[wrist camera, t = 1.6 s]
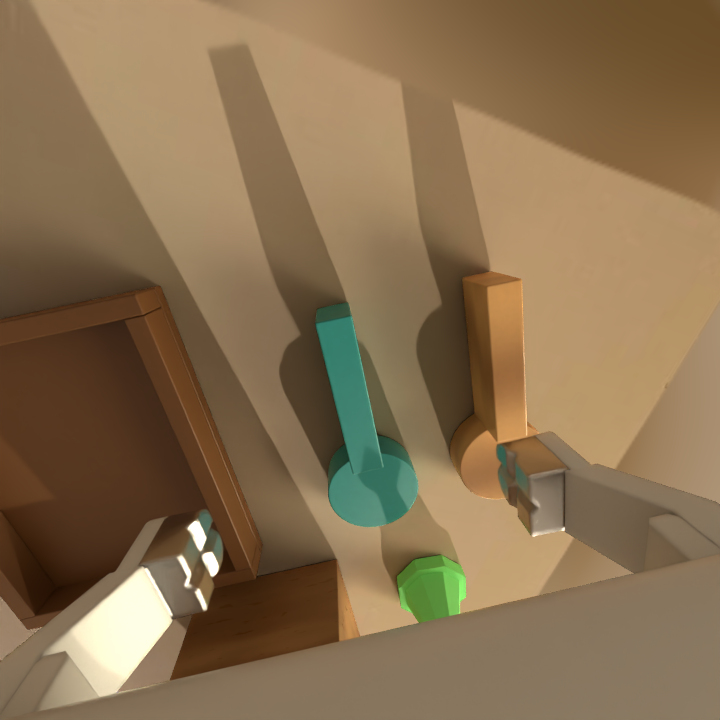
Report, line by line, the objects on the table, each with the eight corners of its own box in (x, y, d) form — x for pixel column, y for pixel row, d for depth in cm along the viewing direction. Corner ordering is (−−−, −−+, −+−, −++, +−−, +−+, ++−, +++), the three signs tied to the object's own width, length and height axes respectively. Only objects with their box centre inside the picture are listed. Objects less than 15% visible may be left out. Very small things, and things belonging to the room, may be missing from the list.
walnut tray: (-119, 344, 15) (-188, 362, 13) (160, 285, 15) (135, 293, 13) (57, 590, 20) (27, 630, 18) (263, 544, 20) (256, 579, 18)
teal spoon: (283, 315, 16) (274, 331, 13) (381, 294, 16) (391, 306, 13) (338, 512, 20) (339, 552, 17) (416, 494, 20) (429, 532, 17)
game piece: (407, 550, 21) (436, 667, 15) (474, 559, 22) (525, 674, 16) (386, 601, 22) (406, 727, 17) (450, 608, 23) (489, 731, 17)
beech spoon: (428, 284, 16) (446, 294, 13) (525, 263, 16) (561, 270, 13) (453, 486, 20) (472, 522, 17) (531, 469, 20) (560, 503, 17)
